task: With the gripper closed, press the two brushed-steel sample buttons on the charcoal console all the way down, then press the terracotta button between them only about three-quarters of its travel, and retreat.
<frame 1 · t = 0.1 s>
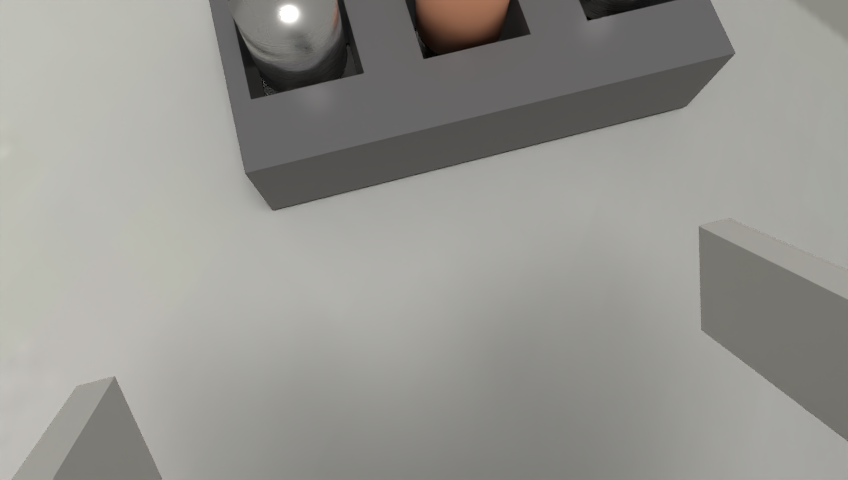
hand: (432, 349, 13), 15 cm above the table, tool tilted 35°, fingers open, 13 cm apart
button console: (454, 60, 32), on the table
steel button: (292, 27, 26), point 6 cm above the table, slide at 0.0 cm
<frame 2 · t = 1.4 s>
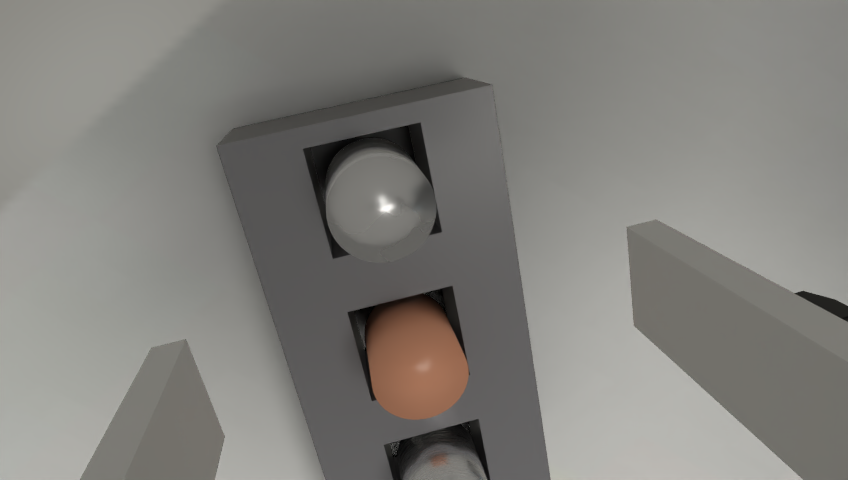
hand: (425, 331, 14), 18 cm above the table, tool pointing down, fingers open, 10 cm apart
button console: (398, 301, 33), on the table
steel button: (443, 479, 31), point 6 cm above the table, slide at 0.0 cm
terracotta button: (413, 352, 28), point 6 cm above the table, slide at 0.0 cm
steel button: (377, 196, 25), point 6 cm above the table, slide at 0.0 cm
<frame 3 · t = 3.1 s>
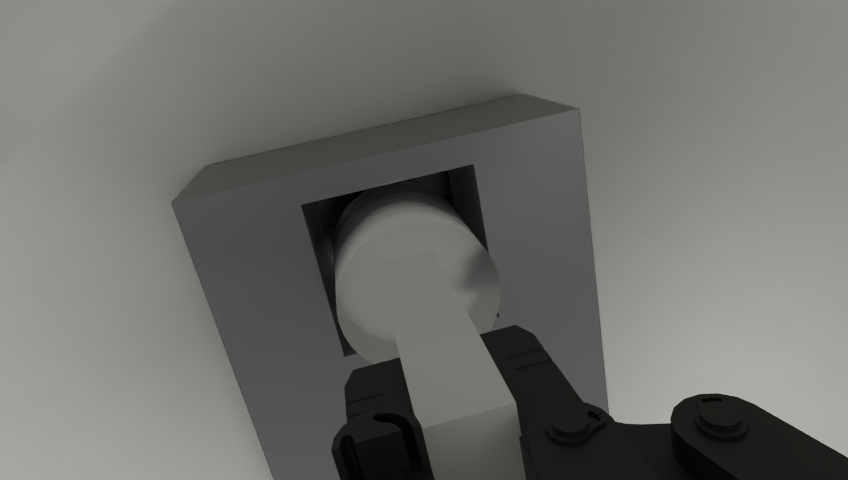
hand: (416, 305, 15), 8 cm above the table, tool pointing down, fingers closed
button console: (428, 386, 25), on the table
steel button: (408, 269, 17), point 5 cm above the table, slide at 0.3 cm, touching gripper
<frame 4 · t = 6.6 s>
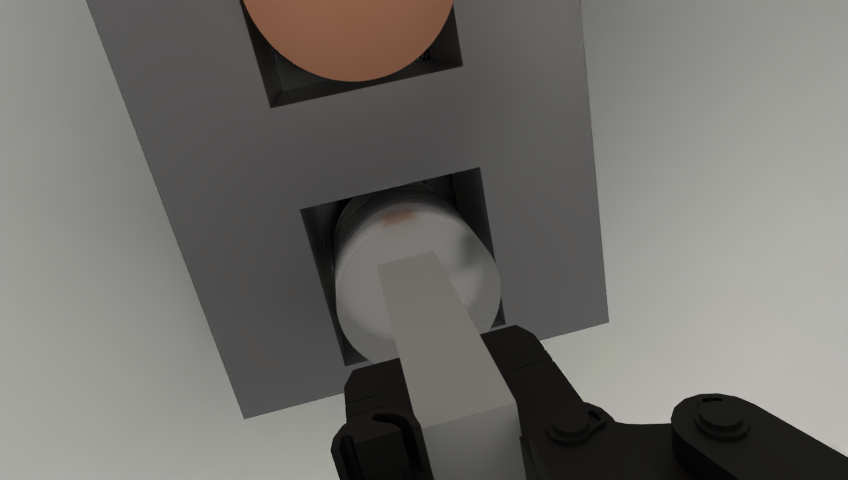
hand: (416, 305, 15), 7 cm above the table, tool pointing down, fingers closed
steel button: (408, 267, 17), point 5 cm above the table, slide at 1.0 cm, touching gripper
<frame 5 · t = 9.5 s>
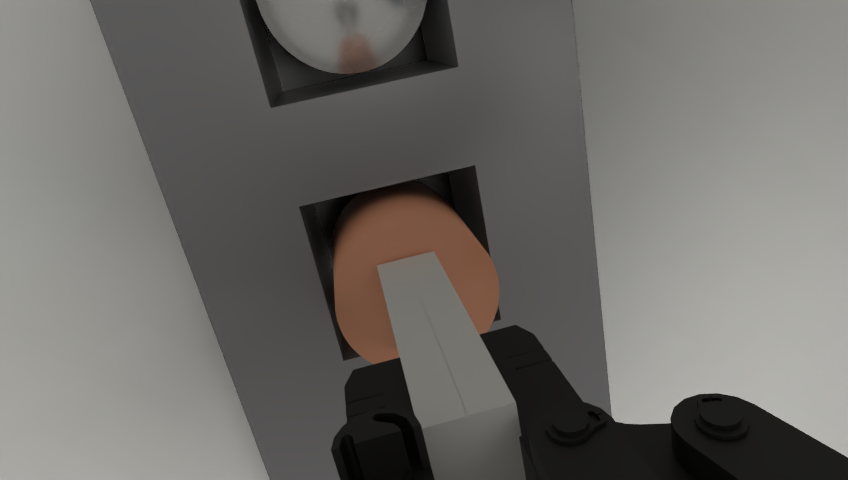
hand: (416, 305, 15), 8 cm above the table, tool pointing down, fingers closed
button console: (388, 218, 22), on the table
terracotta button: (407, 268, 17), point 5 cm above the table, slide at 0.6 cm, touching gripper
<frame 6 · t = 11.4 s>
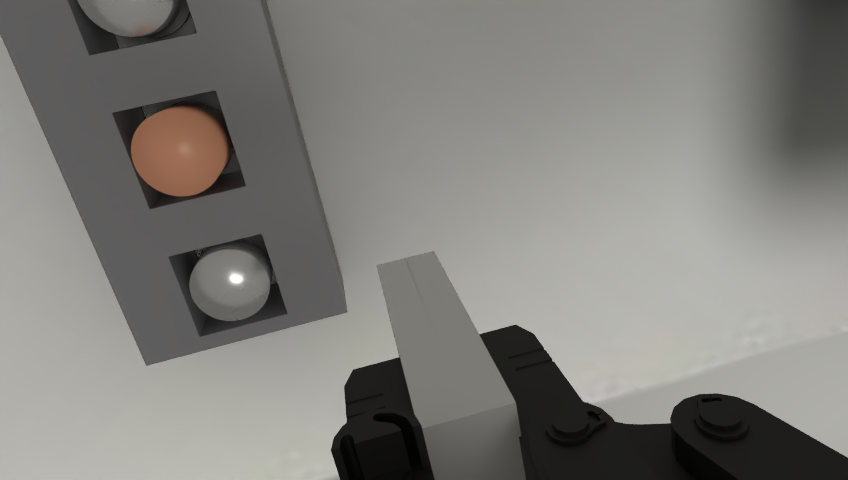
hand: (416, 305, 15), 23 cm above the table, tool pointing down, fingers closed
button console: (198, 136, 35), on the table
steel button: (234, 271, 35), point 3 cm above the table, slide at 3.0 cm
terracotta button: (186, 146, 31), point 4 cm above the table, slide at 2.1 cm
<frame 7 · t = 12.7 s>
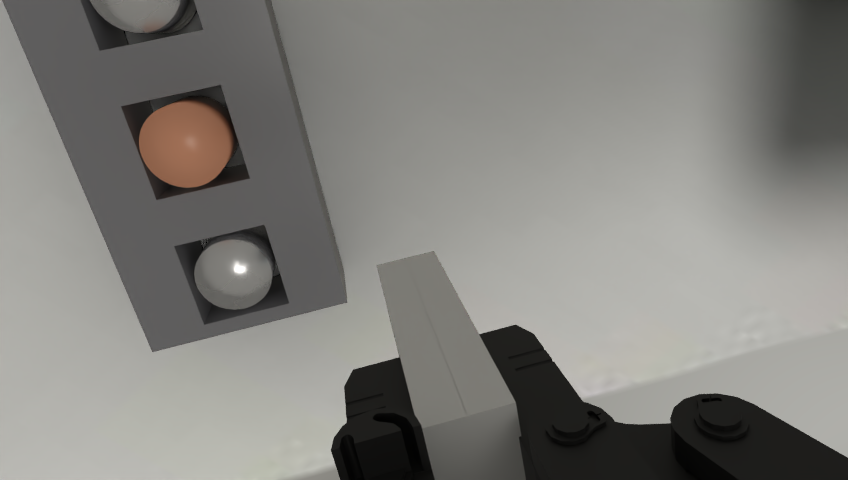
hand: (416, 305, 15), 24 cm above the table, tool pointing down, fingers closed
button console: (204, 130, 36), on the table
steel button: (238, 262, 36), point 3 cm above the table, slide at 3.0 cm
terracotta button: (192, 139, 32), point 4 cm above the table, slide at 2.1 cm
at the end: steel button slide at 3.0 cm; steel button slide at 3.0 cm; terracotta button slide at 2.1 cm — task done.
